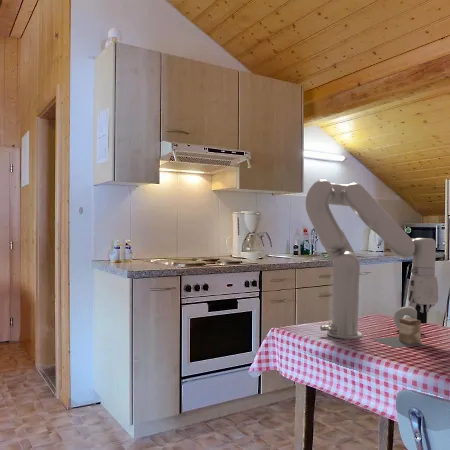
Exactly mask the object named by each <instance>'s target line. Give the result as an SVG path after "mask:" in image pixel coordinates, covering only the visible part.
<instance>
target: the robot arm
mask: <svg viewBox="0 0 450 450" xmlns="http://www.w3.org/2000/svg"><path fill="white" fill-rule="evenodd" d="M329 205H331V206H333V205H334V206H343V207H349V208H350V209H351V210H352V211H353V212H354V213H355V214H356V215H357V217H358V218H360V220H361V221H362V222H363V223H364V225H366V226H367V228H369V229H370V230H371V231H373V232H374V233H375V234H376V235H378V236H379V237H380V239H382V240H383V242H384V243H385V244H386V245H387V247H389V248H390V251H391V253H392V254H393V255H394V256H396V257H398V258H402V259H407V258H409V257H412V267H411V269H410V273H412V274H411V275H410V279H409V283H408V292H407V293H408V295H407V296H408V297H407V298H408V302H409V306H408V307H411V308H413V309H415V310H416V311H417V320H421V325H424V324H427V323H428V313H429V311H430V309H431V308H433V307H435V306H436V304H438V303H439V285H438V279H437V276H436V275H435V274H436V249H437V248H436V247H437V244H436V240H435V239H434V238H429V237H427V238H425V237H416V238H413V237H410V236H409V235H408V234H407V233H406V231H405V230H404V229H403V228H402V227H401V226H400V225H399V224H398V223H397V222H396V221H395V219H393V217H391V215H390V214H389V213H388V211H386V210H385V209H384V208H383V206H381V204H379V202H378V201H377V200H376V199H375V198H374V197H373V195H372V194H370V192H368V190H366V188H365V187H364V186H363V185H362V184H360V183H358V182H351V183H349V184H343V183H341V184H340V183H332V182H331V181H329V180H327V179H319V180H316V181H314V183H313V184H312V185H311V186H310V188H309V189H308V192H307V194H306V196H305V211H306V214H307V216H308V218H309V221H310V222H311V225H312V226H313V229H314V231H315V232H316V234H317V236H318V238H319V241H320V244H321V245H322V247H323V248H324V250H325V252H326V254H327V255H328V257H329V259H330V261H331V263H332V303H331V304H332V305H331V308H332V309H331V310H332V311H331V322H330V321H329V322H328V323H329V324H327V325H320V327H319V328H320V329H319V330H320V331H321V332H325V331H327V332H326V334H327V335H328V336H329V337H332V338H336V339H342V340H343V339H344V340H353V339H354V340H357V339H360V338H362V337H363V334H362V332H360V331H359V300H360V299H359V296H360V295H359V293H360V292H359V291H360V273H361V271H360V270H361V264H360V263H361V262H360V260H359V258H358V256H357V255H356V253H355V250H354V248H353V247H352V245H351V244H350V242H349V240H348V238H347V236H346V234H345V232H344V230H342V229H341V227H340V225H339V224H338V222H337V220H336V218H335V217H334V214H333V213H332V211H331V209H330V206H329Z"/></svg>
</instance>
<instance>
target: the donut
mask: <svg viewBox="0 0 450 450" xmlns="http://www.w3.org/2000/svg"><path fill="white" fill-rule="evenodd" d="M405 316H409V318H413V319H417V311H416V310H415V308H414V307H411V306H402V307H399V308H398V309H397V310H396V311H395V312H394V315H393V323H394V325H395V326H396V328H398V329H399V322H400V318H404V317H405Z"/></svg>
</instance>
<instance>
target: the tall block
mask: <svg viewBox="0 0 450 450" xmlns="http://www.w3.org/2000/svg"><path fill="white" fill-rule="evenodd" d="M421 328H422V323H421V320H417V319H413V318H411V317H403V318H400V322H399V328H398V332H399V333H398V337H399V341H402V342H405V343H408V344H416V343H421V334H422V333H421V330H422V329H421Z"/></svg>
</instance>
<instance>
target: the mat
mask: <svg viewBox="0 0 450 450" xmlns="http://www.w3.org/2000/svg"><path fill="white" fill-rule="evenodd" d="M372 340H373V341H376V342H379V343H380V344H381V343H382V344H384V345H387V346H389V347H391V348H406V347H418V346H419V347H420V346H427V344H425V343H423V342H420V343H416V344H408V343H405V342H402V341H399V336H393V337H391V336H390V337H378V338H377V337H376V338H372Z"/></svg>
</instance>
